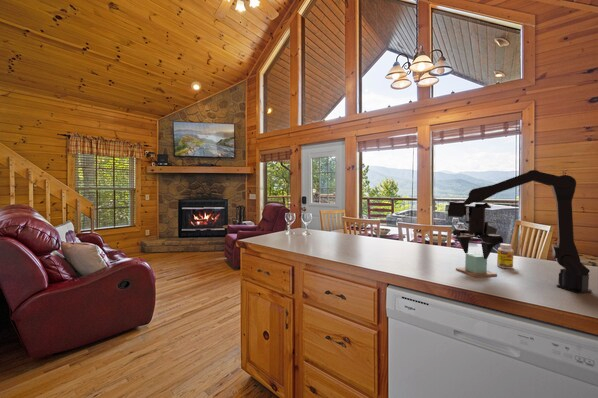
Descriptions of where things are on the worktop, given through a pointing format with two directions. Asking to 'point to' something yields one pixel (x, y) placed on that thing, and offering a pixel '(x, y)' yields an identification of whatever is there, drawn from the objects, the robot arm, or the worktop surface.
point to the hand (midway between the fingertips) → (475, 256)
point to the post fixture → (476, 273)
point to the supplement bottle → (505, 256)
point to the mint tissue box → (476, 263)
